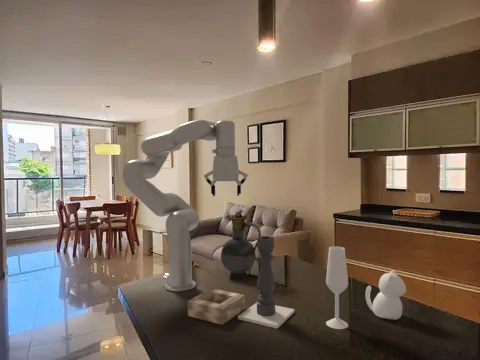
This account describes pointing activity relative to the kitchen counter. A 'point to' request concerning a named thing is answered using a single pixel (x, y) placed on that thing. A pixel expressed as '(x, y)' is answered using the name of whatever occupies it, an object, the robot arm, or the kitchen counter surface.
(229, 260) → the pitcher
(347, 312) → the kitchen counter surface
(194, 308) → the socket block
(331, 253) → the champagne flute
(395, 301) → the cat figurine
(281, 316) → the ceramic tile
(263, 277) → the candle holder
